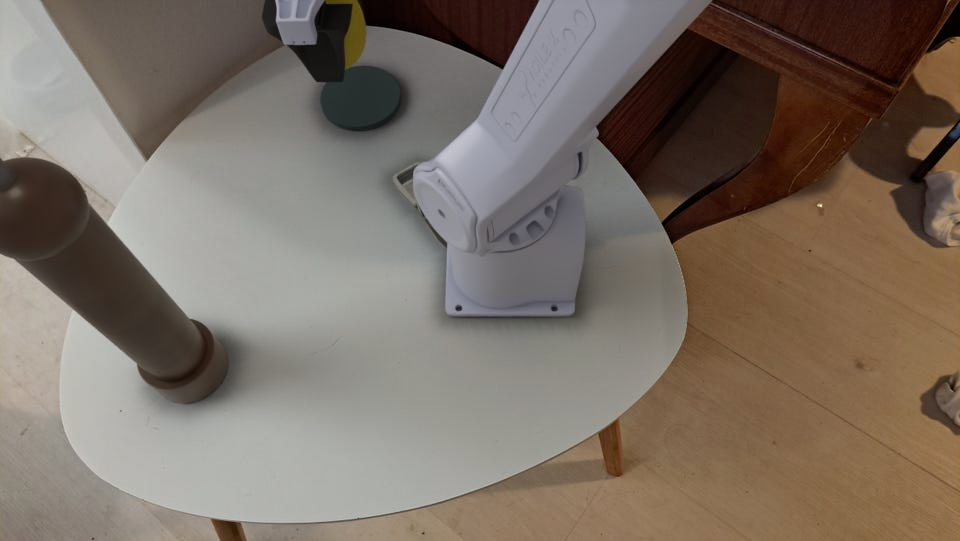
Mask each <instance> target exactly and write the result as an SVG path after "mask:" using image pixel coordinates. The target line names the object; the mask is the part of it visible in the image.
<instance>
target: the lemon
mask: <svg viewBox="0 0 960 541" xmlns="http://www.w3.org/2000/svg"><path fill="white" fill-rule="evenodd" d="M326 4H353V8H352V16H351V22H350V26H349V29H348V32H347V34H346V36H345V39H344V48H345V70H346V69H348V68H350V67H354V66H355V64H356V63H357V62H358V61H359V60H360V58H361V56H363V55H362V54H363V52H364V50H365V48H366V42H367V24H366V20H365V16H364V12H363V10H362V8H361V5H360V3H359V1H358V0H326Z"/></svg>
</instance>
